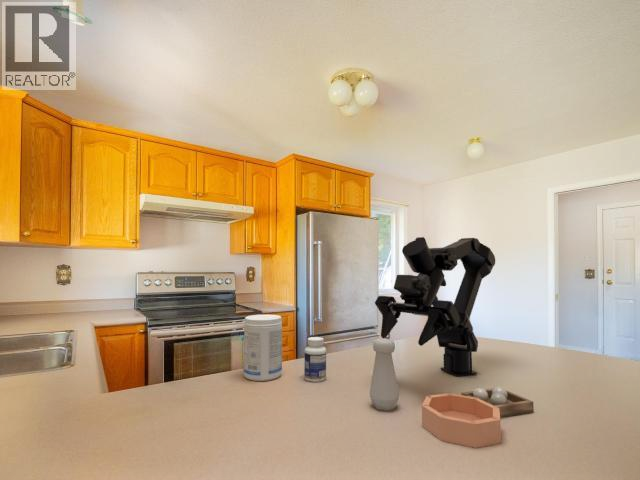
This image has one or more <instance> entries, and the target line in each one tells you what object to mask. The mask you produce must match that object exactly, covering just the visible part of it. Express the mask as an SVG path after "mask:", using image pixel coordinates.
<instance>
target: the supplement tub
mask: <svg viewBox="0 0 640 480" xmlns="http://www.w3.org/2000/svg"><path fill="white" fill-rule="evenodd" d="M243 324H244V325H243V326H244V328H243V332H244V333H243V376H244V377H245V379H247V380H249V381H255V382H256V381H257V382H266V381H272V380H275V379H278V378H279V377H280V376H281V375H282V373H283V322H282V316H281V315H278V314H252V315H248V316H246V317H244V323H243Z"/></svg>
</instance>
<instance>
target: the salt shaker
mask: <svg viewBox="0 0 640 480" xmlns="http://www.w3.org/2000/svg"><path fill="white" fill-rule="evenodd" d="M372 344H373V345H372V349H373V351H374V352H375V358H374V363H373V369H372V375H371V381H370V382H371V383H370V388H369V397H370V400H371V402H372V406H373V407H374V408H376V409H377V410H379V411H385V412H389V411H392V410H395V409H396V407H397V404H398V401H400V400H399V399H400V389H399V385H398V380H397V379H398V378H397V375H396V371H395V365H394V361H393V355H392V354H393V353H394V352H395V350H396V344H395V341H393V340H392V339H390V338H386V337H385V338H382V337H381V338H380V337H379V338H376V339H375V340H374V341H373V343H372Z"/></svg>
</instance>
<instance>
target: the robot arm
mask: <svg viewBox="0 0 640 480" xmlns="http://www.w3.org/2000/svg"><path fill="white" fill-rule="evenodd" d="M401 252H402V254H403V256H404V258H405V259H406V262H407V264H408V265H409V268H410V269H411V270H412V272H413V273H416V274H417V275H413V274H397V275H396V278H395V282H394V285H393V290H395V291H397V292H399V293H400V295H399V297H400V299H401V300H402V301H404V302H398V301H397V300H396V299H395V297H394V296H388V295H378V296H377V298H376V300H375V302H374V304H375V307H377V309H378V311H379V312H380V314H381V317H382V321H381V331H380V337H381V338H385V339H386V337H387V336H389V334H390V333H391V332H392V331H393V328H394V327H395V326H396V325H397V323H398V322H399V321H398V318H400V317H401V313H405V314H412V315H414V316H420V317H421V316H422V317H427V320H426V322H425V324H424V327H423V329H422V330H421V333H420V335H419V338H418V341H417V343H418V345H419V346H422V347H423V346H424V345H425V344H426V343H428V342H429V341H430V340H432V339H433V338H435V337H436V339H437V343H438V347H439V348H443V349H444V353H443V354H442V355H443V366H442V367H440V370H441V371H443V372H446V373H449V374H451V375H453V376H455V377H463V376H464V377H465V376H471V375H477V374H478V373H477V371H475V370H473V357H472V356H473V355H472V354H473V353H474V352H475V353H476V352H478V347H479V346H478V345H479V341H478V339H477V337H476V335H475V333H474V327H473V325H472V323H471V315H472V312H473V309H474V306H475V303H476V299H477V296H478V294H479V293H478V292H479V291H480V287H481V284H482V280H483V279H484V278H485V277H487V276H489V275H490V274H491V272H492V270H493V268H494V266H495V265H496V256H495V254H494V252H493V250H491V248H490V247H489V246H487V245H485V244H484V243H481V242H480V240H479V239H478V238H475V237H464V238H460V239H458V240H457V241H455V242H453V243H452V242H451V243H450V244H448V245H446V246H444V247H430V248H429V246H428V243H427V240H426V238H425V237H424V236H422V237H421V236H419V237H416V238H415V239H414V240H413V241H410V242H408V243H406V244H405V245H404V246H403V247H402V250H401ZM458 260H459V261H460V262H461V263H462V266H463V268H464V270H465V271H464V274H463V277H462V280H461V284H460V286H459V289H458V291H457V294H456V297H455V299H454V302H453V301H452V300H442V299H439V298H438V296H437V294H438V293H439V290H440V288H441V287H446V286H447V281H446V279H445V274H444V272H445V271H448V272H449V271H453V270H454V269H455V267H457V265H458ZM443 271H444V272H443Z"/></svg>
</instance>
